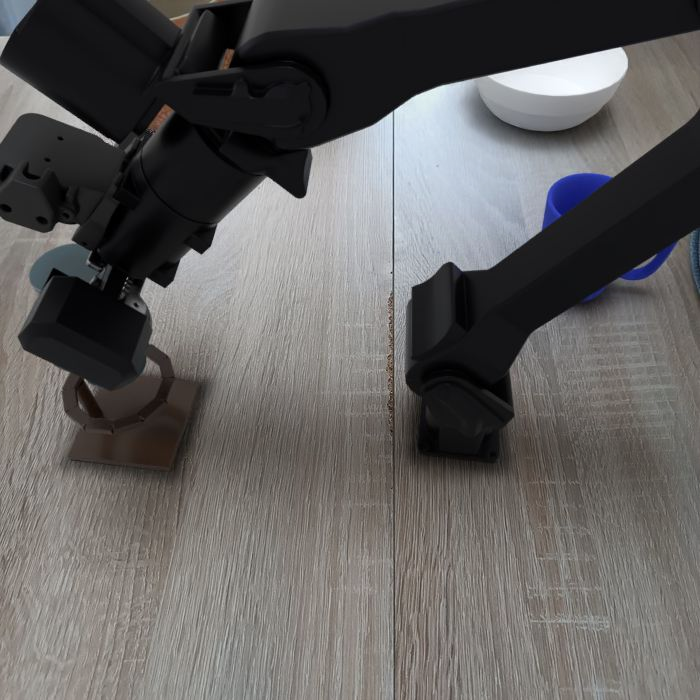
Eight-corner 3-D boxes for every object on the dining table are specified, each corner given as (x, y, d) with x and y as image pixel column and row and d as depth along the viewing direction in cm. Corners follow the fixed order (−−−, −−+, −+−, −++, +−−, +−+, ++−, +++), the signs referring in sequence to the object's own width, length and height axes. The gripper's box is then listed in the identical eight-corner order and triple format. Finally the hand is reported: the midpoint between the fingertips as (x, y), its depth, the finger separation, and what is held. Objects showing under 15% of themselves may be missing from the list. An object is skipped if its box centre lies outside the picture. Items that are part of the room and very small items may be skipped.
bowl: (617, 157, 77) (637, 100, 72) (461, 146, 79) (468, 90, 74) (604, 77, 89) (620, 23, 83) (468, 70, 91) (475, 16, 85)
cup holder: (170, 471, 53) (152, 436, 48) (69, 459, 54) (43, 423, 49) (200, 385, 58) (187, 346, 54) (108, 375, 59) (88, 336, 55)
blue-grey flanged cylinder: (181, 336, 53) (146, 236, 45) (139, 415, 48) (91, 320, 40) (94, 320, 54) (44, 221, 46) (45, 396, 49) (-21, 300, 41)
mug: (656, 323, 61) (698, 242, 53) (525, 306, 63) (546, 226, 55) (649, 263, 66) (687, 181, 58) (527, 249, 68) (548, 167, 60)
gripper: (106, 0, 39) (7, 158, 48) (-31, 202, 27) (-126, 358, 36) (257, 122, 44) (142, 242, 53) (198, 333, 32) (64, 439, 42)
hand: (68, 307), depth 46 cm, fingers closed on blue-grey flanged cylinder, 5 cm apart
